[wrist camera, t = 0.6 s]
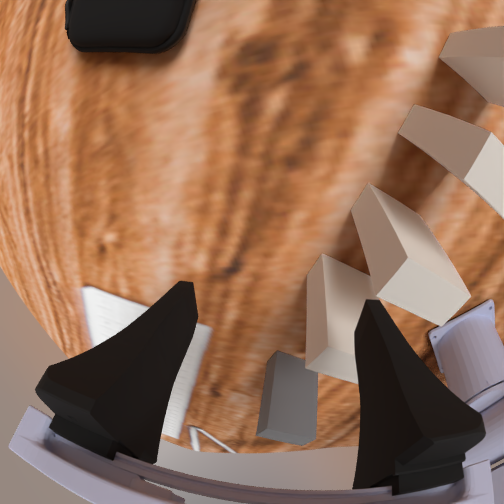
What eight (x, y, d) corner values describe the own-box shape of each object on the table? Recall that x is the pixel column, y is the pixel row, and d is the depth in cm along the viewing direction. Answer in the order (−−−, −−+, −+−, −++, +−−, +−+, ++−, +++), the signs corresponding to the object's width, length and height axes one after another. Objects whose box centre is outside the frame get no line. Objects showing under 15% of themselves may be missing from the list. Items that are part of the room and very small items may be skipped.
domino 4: (449, 171, 17) (519, 235, 9) (397, 133, 16) (463, 179, 9) (465, 145, 15) (543, 197, 8) (414, 104, 15) (491, 132, 7)
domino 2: (356, 297, 24) (369, 386, 17) (306, 274, 23) (305, 368, 16) (372, 277, 23) (394, 368, 15) (322, 253, 22) (328, 346, 15)
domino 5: (402, 239, 20) (441, 326, 13) (350, 210, 20) (375, 295, 12) (420, 215, 19) (471, 296, 12) (368, 182, 19) (407, 257, 11)
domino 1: (306, 374, 31) (302, 445, 24) (267, 361, 31) (255, 435, 23) (317, 364, 30) (315, 439, 22) (277, 350, 29) (267, 428, 22)
